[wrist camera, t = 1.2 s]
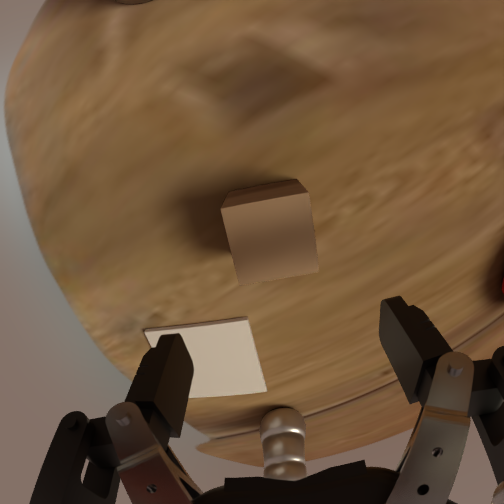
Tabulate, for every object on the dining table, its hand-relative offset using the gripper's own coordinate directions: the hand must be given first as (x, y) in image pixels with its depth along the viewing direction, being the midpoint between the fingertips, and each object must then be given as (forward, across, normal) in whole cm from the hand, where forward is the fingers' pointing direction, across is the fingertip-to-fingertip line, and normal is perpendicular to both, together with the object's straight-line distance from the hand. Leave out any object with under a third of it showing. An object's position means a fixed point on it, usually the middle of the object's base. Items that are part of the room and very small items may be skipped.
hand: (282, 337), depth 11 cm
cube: (+16, 0, 0) cm, 16 cm away
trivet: (+16, +10, +16) cm, 25 cm away
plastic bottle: (+16, +3, +29) cm, 33 cm away
